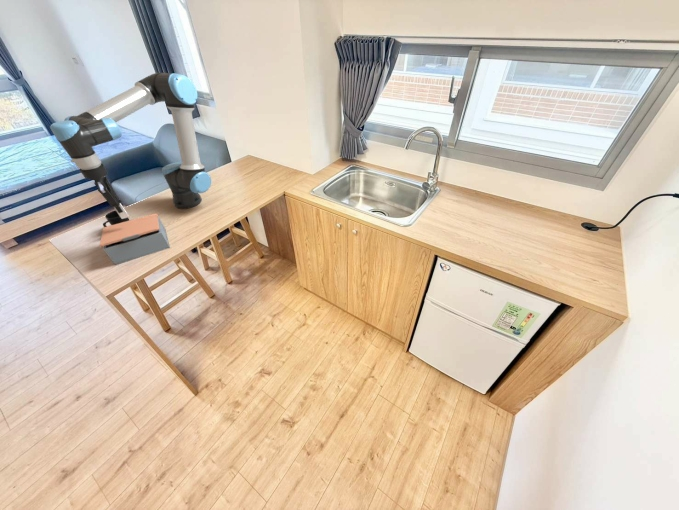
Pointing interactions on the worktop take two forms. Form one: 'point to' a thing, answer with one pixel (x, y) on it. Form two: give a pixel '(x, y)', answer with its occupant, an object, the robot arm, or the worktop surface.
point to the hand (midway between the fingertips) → (125, 217)
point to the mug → (114, 218)
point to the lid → (129, 229)
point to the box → (138, 246)
